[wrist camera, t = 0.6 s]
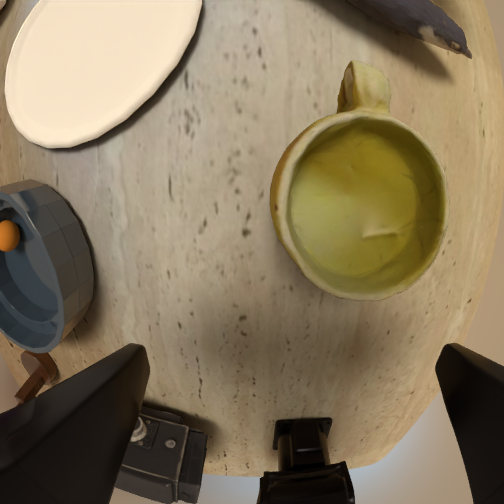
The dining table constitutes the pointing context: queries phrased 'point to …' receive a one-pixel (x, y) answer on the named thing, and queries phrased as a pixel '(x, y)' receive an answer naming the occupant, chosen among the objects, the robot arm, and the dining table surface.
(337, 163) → the mug
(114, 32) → the plate
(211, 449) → the dining table surface
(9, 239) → the orange ball
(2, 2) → the geometric ball
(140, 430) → the camera
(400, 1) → the bird model
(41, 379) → the ladle
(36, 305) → the bowl
